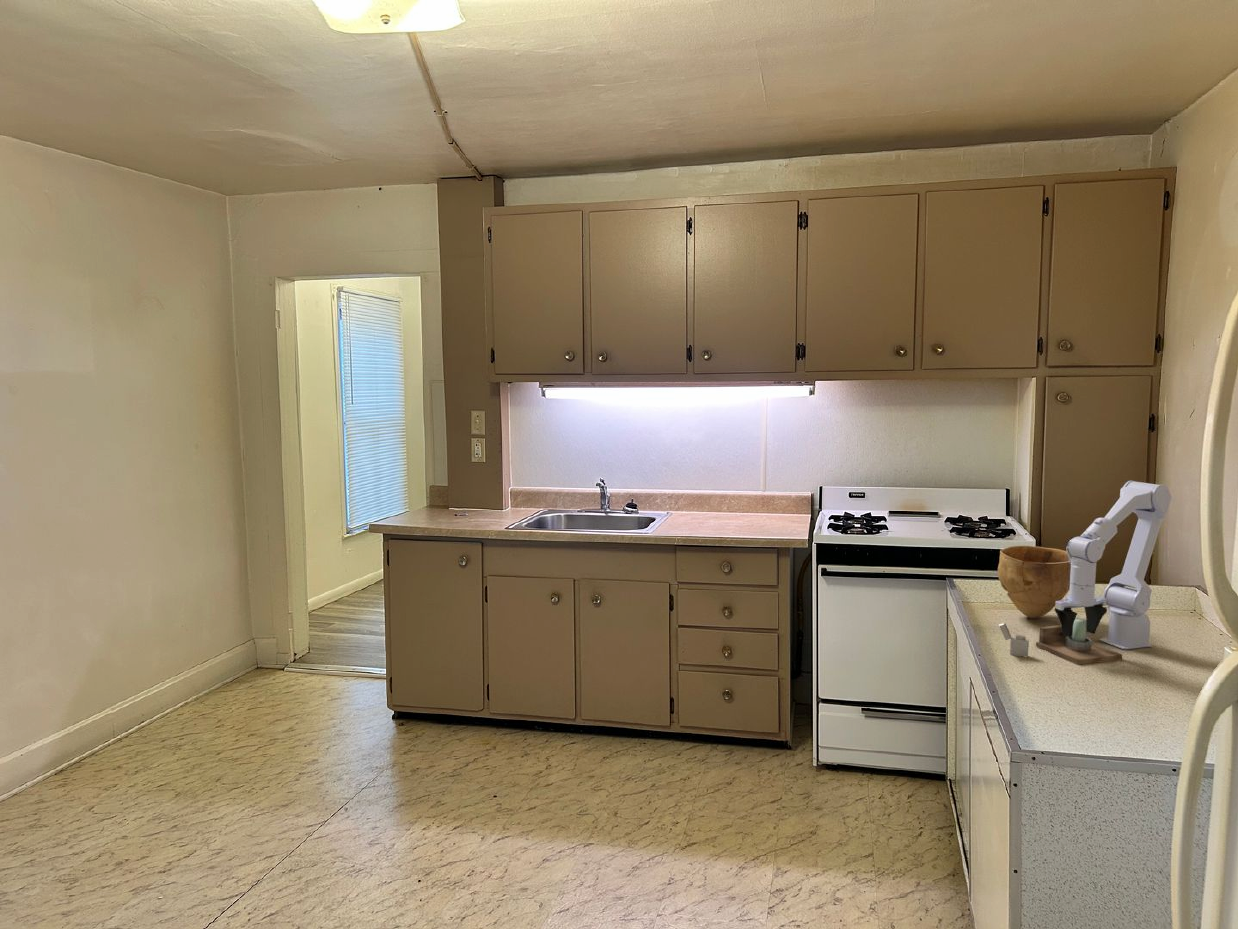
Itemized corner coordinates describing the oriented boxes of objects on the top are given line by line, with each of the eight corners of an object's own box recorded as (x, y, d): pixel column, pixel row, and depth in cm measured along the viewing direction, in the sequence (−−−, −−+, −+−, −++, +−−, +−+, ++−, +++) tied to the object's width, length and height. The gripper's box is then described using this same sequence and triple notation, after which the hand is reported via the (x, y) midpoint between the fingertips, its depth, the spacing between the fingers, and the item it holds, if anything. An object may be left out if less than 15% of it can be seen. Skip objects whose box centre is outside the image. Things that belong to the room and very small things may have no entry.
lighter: (1028, 655, 215) (1029, 625, 214) (1027, 657, 214) (1029, 627, 213) (998, 650, 219) (999, 621, 218) (997, 652, 217) (998, 623, 217)
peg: (1079, 644, 219) (1081, 618, 218) (1087, 648, 216) (1089, 622, 215) (1069, 645, 218) (1070, 619, 217) (1077, 649, 215) (1078, 623, 214)
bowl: (1086, 629, 236) (1090, 560, 234) (1014, 629, 237) (1018, 560, 234) (1049, 607, 257) (1053, 544, 255) (983, 607, 257) (986, 544, 255)
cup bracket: (1078, 641, 226) (1079, 623, 225) (1121, 659, 212) (1123, 639, 212) (1035, 646, 222) (1036, 627, 221) (1077, 664, 209) (1078, 644, 208)
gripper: (1092, 577, 221) (1089, 627, 222) (1047, 581, 217) (1044, 632, 218) (1114, 584, 214) (1111, 635, 216) (1068, 588, 210) (1065, 640, 212)
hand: (1079, 634), depth 217 cm, fingers open, 7 cm apart
